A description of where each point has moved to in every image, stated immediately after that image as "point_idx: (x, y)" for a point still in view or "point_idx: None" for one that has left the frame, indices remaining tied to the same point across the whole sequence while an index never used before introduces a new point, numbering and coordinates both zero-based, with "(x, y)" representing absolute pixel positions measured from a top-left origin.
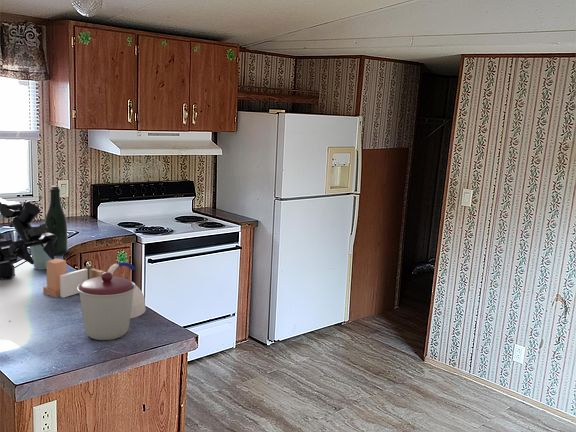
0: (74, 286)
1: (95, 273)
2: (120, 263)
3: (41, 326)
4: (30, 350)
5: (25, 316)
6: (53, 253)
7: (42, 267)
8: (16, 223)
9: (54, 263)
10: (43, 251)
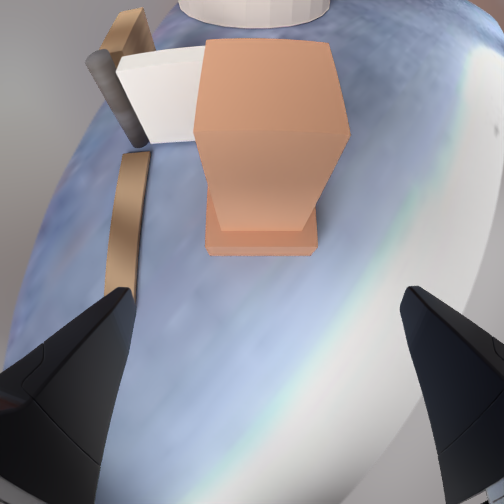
0: None
1: (137, 32)
2: None
3: (446, 55)
4: (477, 32)
5: (464, 118)
6: (77, 316)
7: None
8: None
9: (329, 51)
10: None
